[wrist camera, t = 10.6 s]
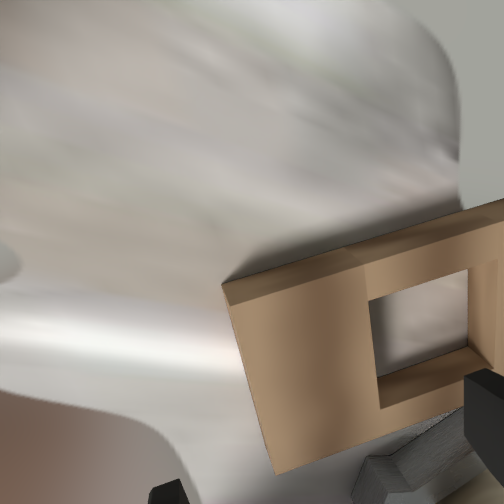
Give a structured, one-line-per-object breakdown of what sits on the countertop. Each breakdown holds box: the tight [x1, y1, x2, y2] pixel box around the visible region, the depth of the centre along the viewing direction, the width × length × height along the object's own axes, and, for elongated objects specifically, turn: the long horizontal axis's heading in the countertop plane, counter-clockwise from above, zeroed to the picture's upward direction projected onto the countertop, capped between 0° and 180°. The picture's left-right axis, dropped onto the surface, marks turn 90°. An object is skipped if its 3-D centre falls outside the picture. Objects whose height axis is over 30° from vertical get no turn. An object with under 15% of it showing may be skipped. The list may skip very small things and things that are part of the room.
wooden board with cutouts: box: [221, 198, 504, 475], centre depth 22 cm, size 18×10×2 cm, turn 102°
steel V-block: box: [351, 406, 488, 504], centre depth 26 cm, size 8×13×2 cm, turn 167°
